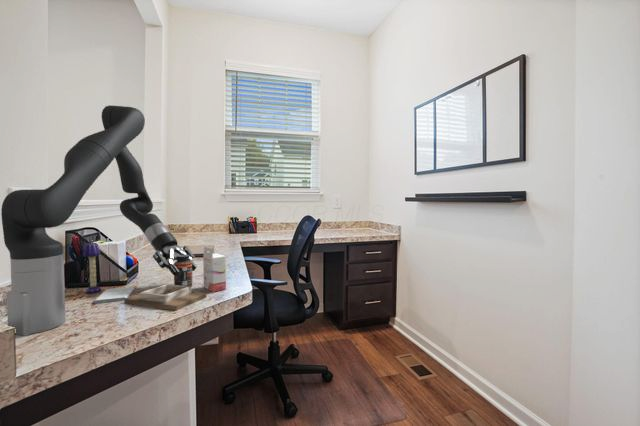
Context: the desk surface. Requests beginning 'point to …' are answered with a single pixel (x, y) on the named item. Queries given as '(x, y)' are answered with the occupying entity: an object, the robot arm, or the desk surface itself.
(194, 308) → the desk surface
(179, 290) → the rail board
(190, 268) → the supplement bottle
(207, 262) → the ink cartridge box
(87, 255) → the toy lamp
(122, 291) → the external hard drive
